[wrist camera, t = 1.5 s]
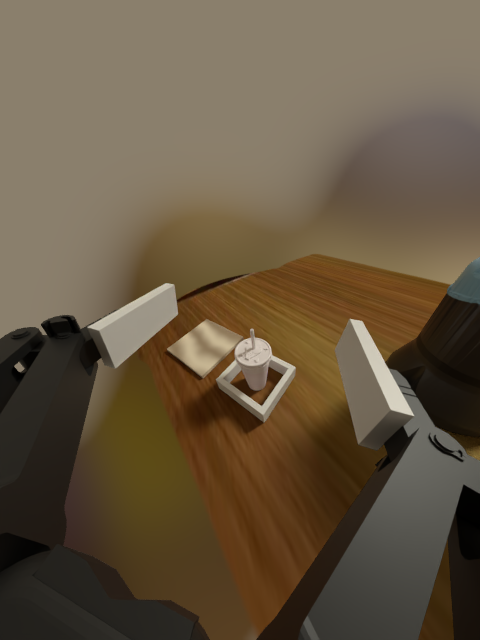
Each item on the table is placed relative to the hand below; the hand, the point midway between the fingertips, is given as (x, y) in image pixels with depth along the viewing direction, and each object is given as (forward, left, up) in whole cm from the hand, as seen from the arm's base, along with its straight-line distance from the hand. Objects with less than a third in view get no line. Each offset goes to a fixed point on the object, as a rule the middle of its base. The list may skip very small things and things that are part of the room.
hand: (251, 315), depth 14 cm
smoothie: (-7, -7, -25) cm, 27 cm away
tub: (-7, -7, -25) cm, 26 cm away
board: (-8, -24, -25) cm, 35 cm away
